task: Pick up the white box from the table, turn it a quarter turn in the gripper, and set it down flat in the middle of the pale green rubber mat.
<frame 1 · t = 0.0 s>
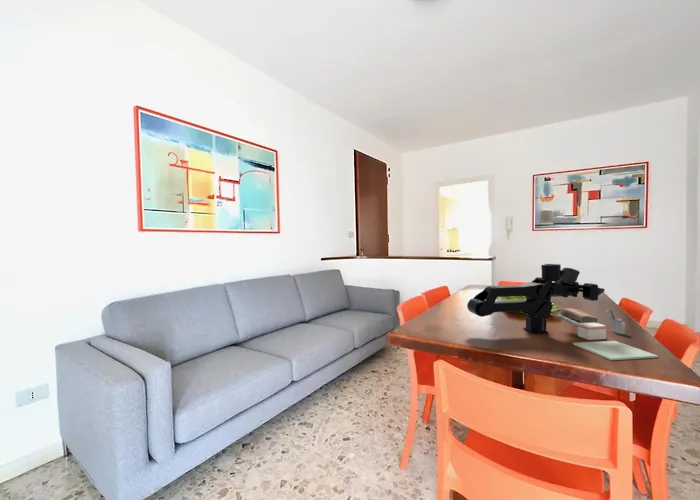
hand: (593, 288, 125), 17 cm above the table, tool horizontal, fingers open, 9 cm apart
mat: (612, 350, 101), on the table
packaged product: (578, 322, 136), on the table
lighter: (614, 331, 121), on the table
white box: (591, 337, 115), on the table
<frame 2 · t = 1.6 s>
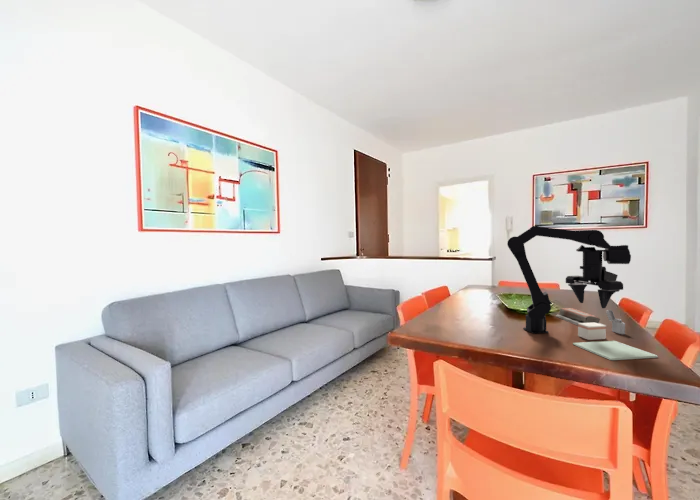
hand: (592, 305, 114), 12 cm above the table, tool pointing down, fingers open, 9 cm apart
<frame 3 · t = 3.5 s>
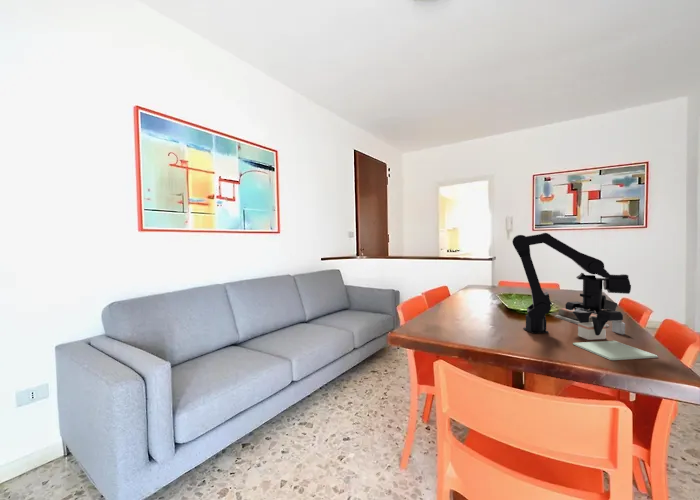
hand: (591, 333, 115), 2 cm above the table, tool pointing down, fingers closed on white box, 4 cm apart
white box: (591, 337, 115), on the table, touching gripper
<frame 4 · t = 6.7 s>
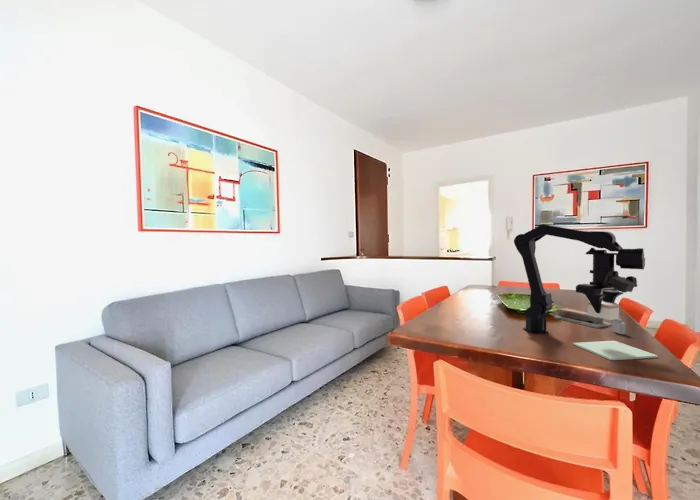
hand: (602, 312, 107), 11 cm above the table, tool pointing down, fingers closed on white box, 4 cm apart
white box: (602, 316, 107), point 10 cm above the table, touching gripper
when the fingers open (4 cm above the table, at t = 9.9 s): white box drops 1 cm, resting on mat.
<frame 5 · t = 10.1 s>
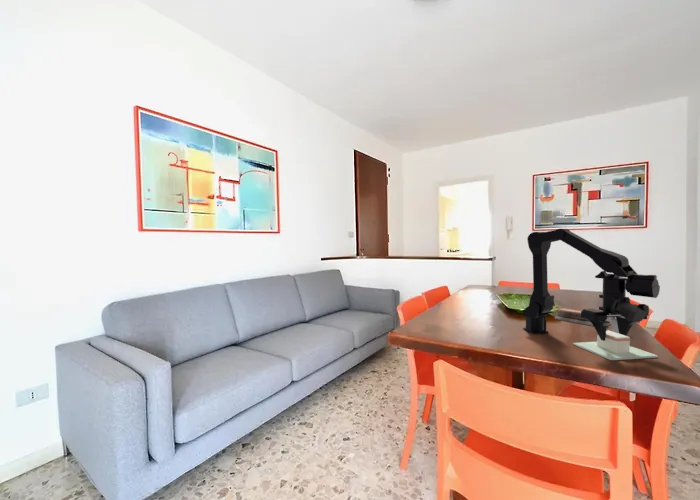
hand: (612, 339, 101), 4 cm above the table, tool pointing down, fingers open, 7 cm apart
white box: (612, 348, 101), point 1 cm above the table, touching mat
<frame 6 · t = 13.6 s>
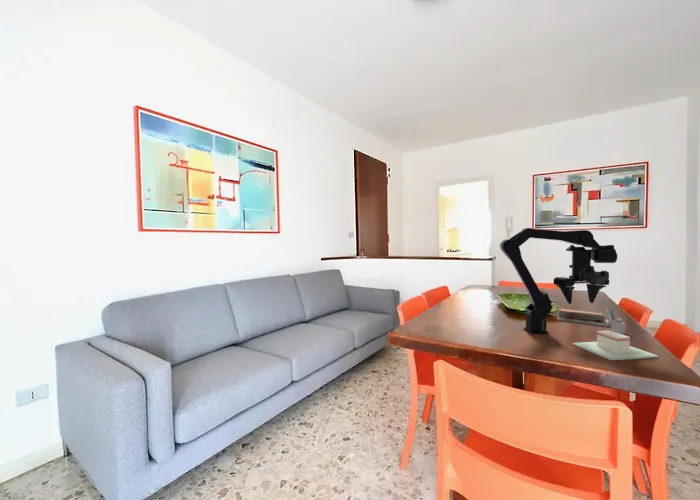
hand: (580, 303, 118), 12 cm above the table, tool pointing down, fingers open, 9 cm apart
at the end: white box inside the target area on the mat (0.1 cm from its centre), point 0.6 cm above the mat's base; white box tilted 0°; the gripper is holding nothing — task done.
